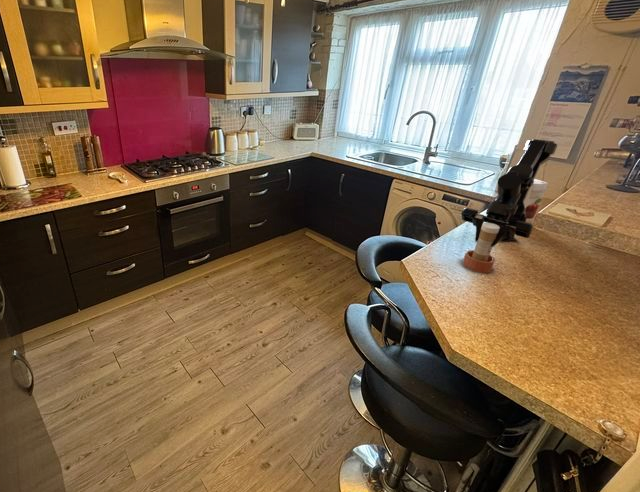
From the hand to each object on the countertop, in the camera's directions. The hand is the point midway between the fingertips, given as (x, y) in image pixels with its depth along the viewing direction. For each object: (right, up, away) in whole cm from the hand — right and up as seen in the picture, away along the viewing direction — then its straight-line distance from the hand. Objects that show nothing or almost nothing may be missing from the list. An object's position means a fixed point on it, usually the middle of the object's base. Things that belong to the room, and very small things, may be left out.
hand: (483, 243), depth 105 cm
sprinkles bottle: (+1, -6, +4) cm, 7 cm away
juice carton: (+43, +7, +37) cm, 57 cm away
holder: (+1, -8, +5) cm, 9 cm away
